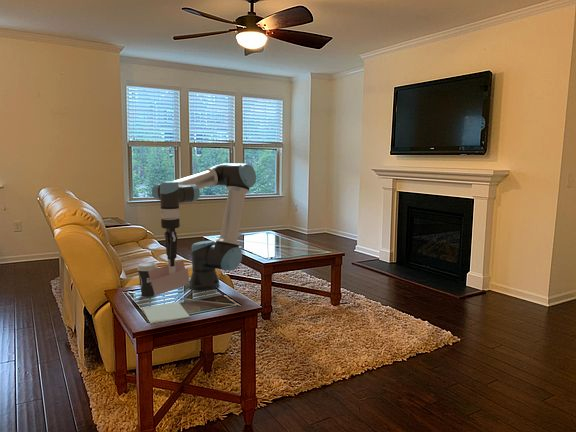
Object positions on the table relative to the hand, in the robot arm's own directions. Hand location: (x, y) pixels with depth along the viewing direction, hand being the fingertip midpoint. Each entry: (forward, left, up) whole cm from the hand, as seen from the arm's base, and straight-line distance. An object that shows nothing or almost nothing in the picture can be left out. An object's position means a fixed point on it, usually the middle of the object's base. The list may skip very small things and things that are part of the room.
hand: (171, 273), depth 190 cm
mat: (0, -3, -17) cm, 18 cm away
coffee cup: (-29, -5, -17) cm, 35 cm away
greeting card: (+3, -9, -4) cm, 10 cm away
